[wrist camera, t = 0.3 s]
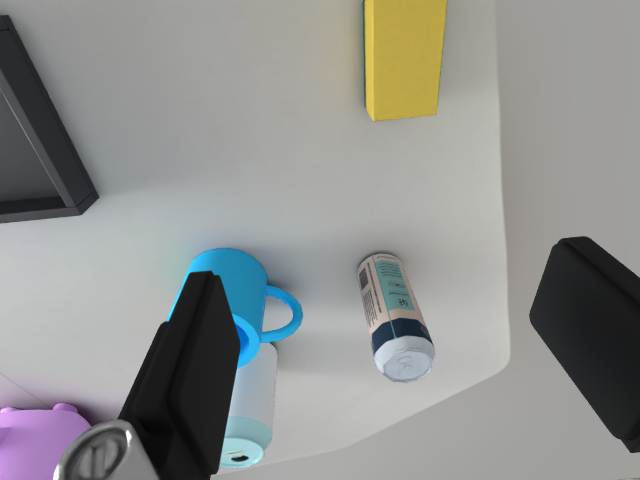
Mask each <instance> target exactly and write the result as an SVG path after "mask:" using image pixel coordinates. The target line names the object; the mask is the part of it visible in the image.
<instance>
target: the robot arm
mask: <svg viewBox="0 0 640 480" xmlns="http://www.w3.org/2000/svg"><path fill="white" fill-rule="evenodd" d="M529 316H530V322H531V324H532V325H533V327H534V329H535V330H536V331H537V332H538V334H539V335H540V337H541V338H542V340H543V341H544V342H545V344H546V345H547V346H548V348H549V349H550V350H551V352H552V353H553V355H554V356H555V357H556V359H557V360H558V361H559V363H560V364H561V365H562V367H563V368H564V370H565V371H566V372H567V374H568V375H569V377H570V378H571V379H572V381H573V382H574V383H575V385H576V386H577V387H578V389H579V390H580V392H581V393H582V394H583V396H584V397H585V398H586V400H587V401H588V402H589V404H590V405H591V407H592V408H593V409H594V411H595V412H596V414H597V415H598V416H599V418H600V419H601V420H602V422H603V423H604V424H605V426H606V427H607V429H608V430H609V431H610V432H611V434H612V435H613V436H615V437H616V438H618V439H621V440H622V442H623V443H624V444H625V446H626V447H627V449H628V450H629V451H630V453H637V452H640V278H639V277H638V276H637V275H636V274H634V273H633V272H632V271H630V270H629V269H628V268H627V267H625V266H624V265H623V264H622V263H620V262H619V261H618V260H617V259H615V258H614V257H613V256H612V255H610V254H609V253H608V252H606V251H605V250H604V249H603V248H602V247H600V246H599V245H598V244H596V243H595V242H594V241H593V240H591V239H590V238H588V237H585V236H582V237H571V238H563V239H561V240H560V241H559V242H558V243H557V244H556V245H554V246H553V247H552V250H551V253H550V255H549V258H548V261H547V264H546V267H545V270H544V273H543V276H542V279H541V282H540V284H539V287H538V290H537V293H536V296H535V299H534V302H533V305H532V308H531V310H530V314H529ZM239 355H240V339H239V335H238V332H237V329H236V325H235V322H234V319H233V316H232V312H231V309H230V306H229V303H228V299H227V296H226V293H225V290H224V286H223V283H222V280H221V277H220V276H219V275H214V273H213V272H212V271H211V270H209V271H198V272H191V273H189V275H188V277H187V279H186V282H185V284H184V286H183V289H182V291H181V293H180V296H179V298H178V300H177V302H176V305H175V307H174V309H173V312H172V314H171V316H170V319H169V321H167V322H163V323H162V324H161V325H160V327H159V329H158V331H157V333H156V335H155V337H154V339H153V342H152V344H151V346H150V348H149V350H148V353H147V355H146V357H145V359H144V362H143V364H142V366H141V368H140V370H139V373H138V375H137V377H136V379H135V381H134V384H133V386H132V388H131V390H130V393H129V395H128V397H127V399H126V401H125V404H124V406H123V408H122V410H121V412H120V415H119V417H118V419H111V420H107V421H104V422H100V423H98V424H96V425H94V426H92V427H91V428H89V429H87V430H86V431H84V432H83V433H82V434H81V435H79V436H78V437H77V438H76V439H75V440H74V441H73V442H72V443H71V444H70V445H69V446H68V447H67V449H66V450H65V451H64V453H63V455H62V456H61V458H60V459H59V461H58V463H57V467H56V470H55V473H54V480H210V477H211V475H213V474H216V473H217V472H218V469H219V465H220V459H221V454H222V448H223V443H224V437H225V432H226V426H227V421H228V415H229V410H230V404H231V399H232V393H233V388H234V382H235V377H236V371H237V366H238V360H239ZM620 480H640V478H633V479H620Z"/></svg>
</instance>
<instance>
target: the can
mask: <svg viewBox="0 0 640 480" xmlns="http://www.w3.org/2000/svg"><path fill="white" fill-rule="evenodd" d="M277 359H278V354H277V351H276V349H275V348H274V346H273V345H272V344H270V343H260V348H259V350H258V353H257V355H256V356H255V357H254V358H253V359H252V360H251V361H250V362H249V363H248V364H246V365H244V366H242V367H240V368H238V369H237V371H236V377H235V382H234V388H233V393H232V399H231V404H230V410H229V415H228V421H227V426H226V432H225V437H224V443H223V448H222V454H221V459H220V465H219V466H221V467H226V468H243V467H248V466H252V465H254V464H256V463H258V462H259V461H261V460H262V458H263V457H264V450H265V449H266V448H267V446H268V445H269V443H270V442H271V439H272V432H273V417H274V403H275V388H276V373H277Z"/></svg>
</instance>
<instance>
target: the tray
mask: <svg viewBox="0 0 640 480" xmlns="http://www.w3.org/2000/svg"><path fill="white" fill-rule="evenodd" d="M98 198H99V196H98V194H97V192H96V190H95V188H94V186H93V184H92V182H91V180H90V178H89V176H88V174H87V172H86V170H85V168H84V166H83V164H82V162H81V160H80V158H79V156H78V154H77V152H76V150H75V148H74V146H73V144H72V142H71V140H70V138H69V136H68V134H67V132H66V130H65V128H64V126H63V124H62V122H61V120H60V118H59V116H58V114H57V112H56V110H55V108H54V106H53V104H52V102H51V100H50V98H49V96H48V94H47V92H46V90H45V88H44V86H43V84H42V82H41V80H40V78H39V76H38V74H37V72H36V70H35V68H34V66H33V64H32V62H31V60H30V58H29V56H28V54H27V52H26V50H25V48H24V46H23V44H22V42H21V40H20V38H19V36H18V34H17V32H16V30H15V28H14V26H13V24H12V22H11V20H10V18H9V16H8V15H1V16H0V223H9V222H19V221H29V220H39V219H48V218H58V217H68V216H78V215H82V214H83V213H84V212H85V211H86V210H87V209H88V208H89V207H90V206H91V205H92V204H93V203H94V202H95V201H96V200H97V199H98Z"/></svg>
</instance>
